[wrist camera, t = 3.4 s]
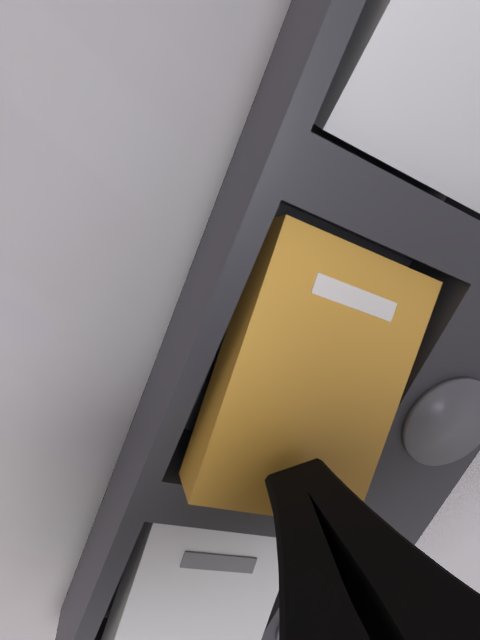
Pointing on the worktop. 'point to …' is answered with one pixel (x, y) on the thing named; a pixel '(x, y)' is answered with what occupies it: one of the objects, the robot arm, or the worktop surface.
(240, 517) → the power strip
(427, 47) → the rocker
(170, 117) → the worktop surface
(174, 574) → the block
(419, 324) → the rocker mid
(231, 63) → the worktop surface
